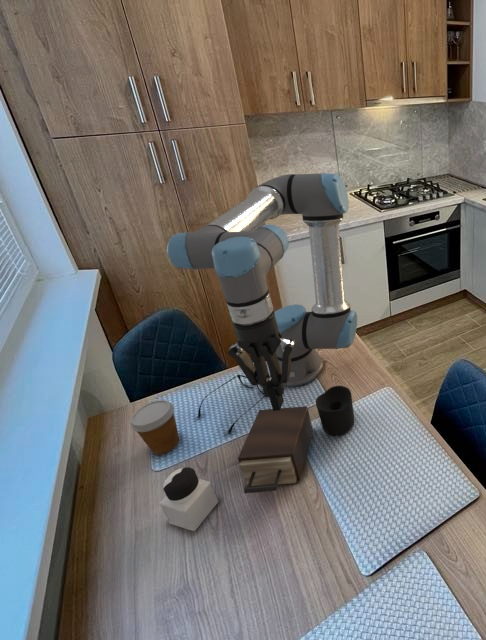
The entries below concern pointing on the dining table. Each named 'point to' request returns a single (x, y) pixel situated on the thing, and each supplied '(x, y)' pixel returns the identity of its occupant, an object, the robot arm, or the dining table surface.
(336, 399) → the pen holder
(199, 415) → the eyeglasses
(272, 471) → the drawer
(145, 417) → the disposable coffee cup
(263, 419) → the cabinet
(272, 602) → the dining table surface
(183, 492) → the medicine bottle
